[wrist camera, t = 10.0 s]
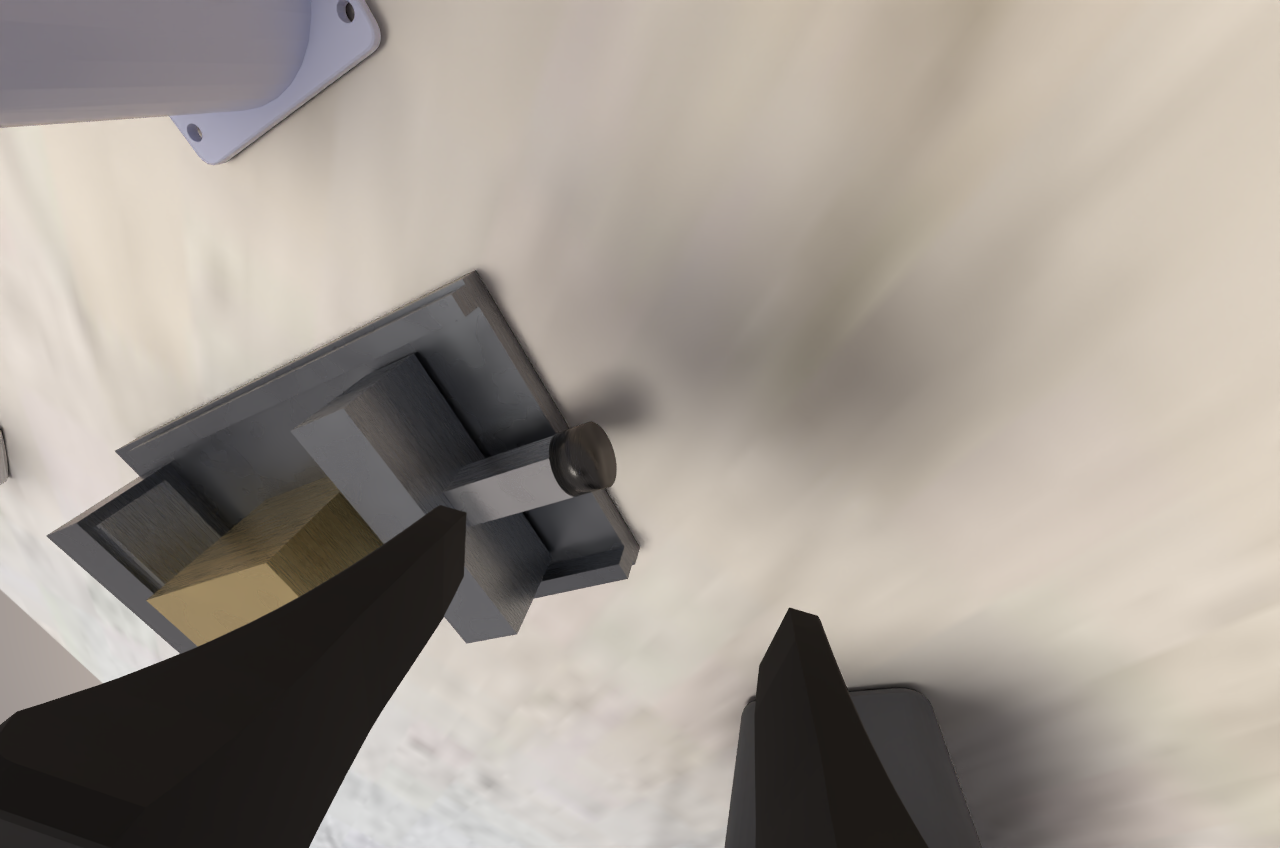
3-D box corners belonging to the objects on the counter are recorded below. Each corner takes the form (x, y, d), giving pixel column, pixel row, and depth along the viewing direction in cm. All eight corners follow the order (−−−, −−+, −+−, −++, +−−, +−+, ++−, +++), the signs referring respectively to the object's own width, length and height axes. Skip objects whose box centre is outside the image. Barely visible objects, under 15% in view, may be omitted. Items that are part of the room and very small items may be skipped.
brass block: (265, 499, 26) (146, 600, 21) (373, 459, 24) (266, 562, 19) (315, 554, 28) (214, 661, 23) (422, 522, 25) (335, 634, 20)
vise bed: (135, 439, 28) (14, 508, 23) (475, 270, 20) (390, 326, 15) (313, 623, 33) (242, 708, 28) (639, 547, 25) (611, 648, 20)
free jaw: (360, 377, 21) (284, 433, 18) (543, 295, 18) (491, 345, 15) (501, 569, 25) (460, 644, 22) (671, 528, 22) (654, 608, 19)
